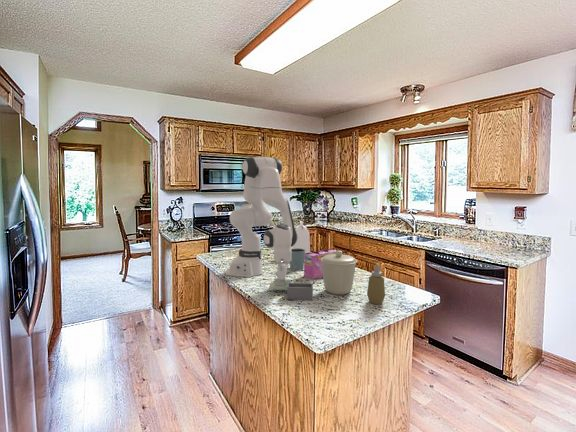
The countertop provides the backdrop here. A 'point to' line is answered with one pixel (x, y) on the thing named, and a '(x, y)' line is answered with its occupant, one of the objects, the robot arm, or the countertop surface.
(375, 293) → the squeeze bottle
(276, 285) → the lid
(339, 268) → the canister
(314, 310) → the countertop surface
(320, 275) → the gum box
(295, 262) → the grey cup
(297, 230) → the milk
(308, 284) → the box
